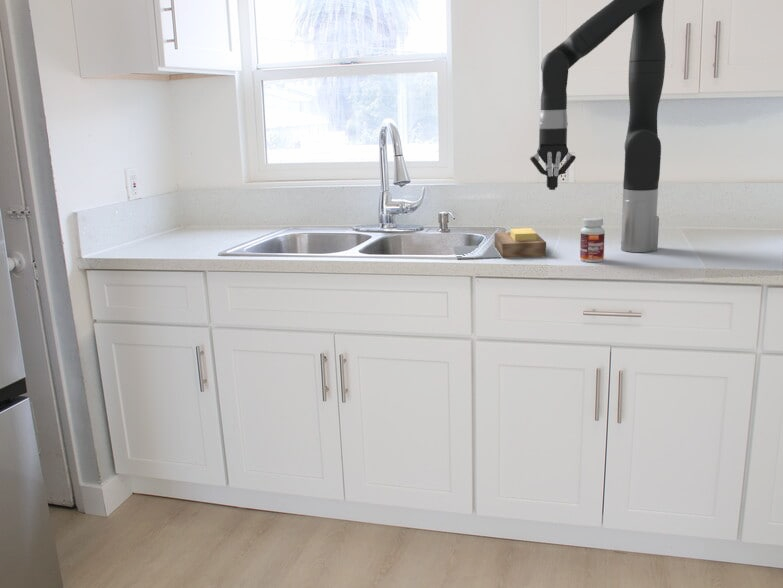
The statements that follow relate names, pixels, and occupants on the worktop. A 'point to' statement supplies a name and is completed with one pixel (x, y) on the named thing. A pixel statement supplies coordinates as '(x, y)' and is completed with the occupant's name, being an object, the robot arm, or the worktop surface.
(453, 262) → the worktop surface
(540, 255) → the brown wooden block
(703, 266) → the worktop surface
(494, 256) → the mat
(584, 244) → the pill bottle
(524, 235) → the yellow rectangular block
